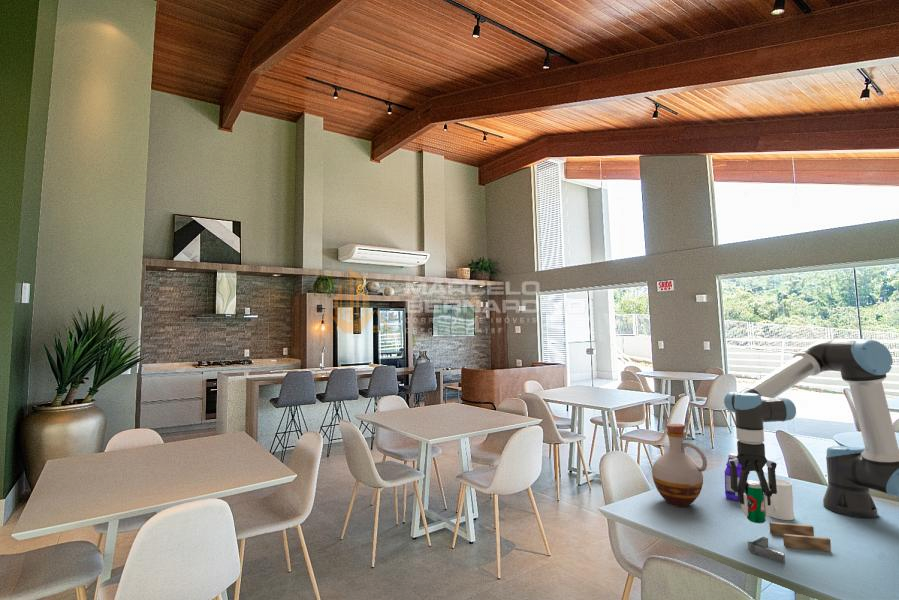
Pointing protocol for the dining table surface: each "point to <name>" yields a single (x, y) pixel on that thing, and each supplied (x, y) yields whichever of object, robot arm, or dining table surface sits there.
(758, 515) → the soda can
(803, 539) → the guide channel
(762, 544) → the v block
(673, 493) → the jug
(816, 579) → the dining table surface
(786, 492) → the mug
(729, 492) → the bottle
